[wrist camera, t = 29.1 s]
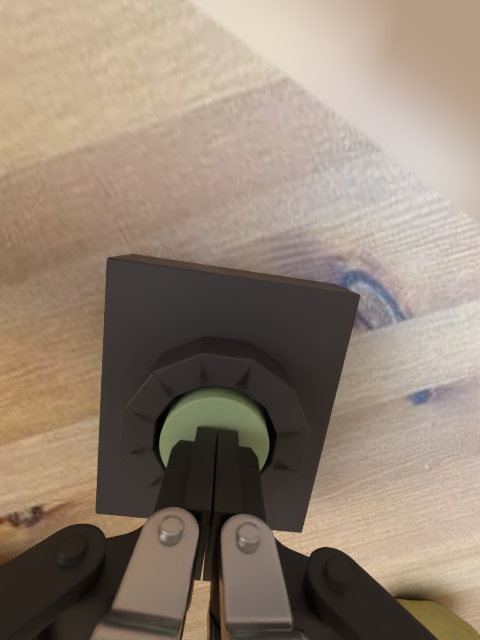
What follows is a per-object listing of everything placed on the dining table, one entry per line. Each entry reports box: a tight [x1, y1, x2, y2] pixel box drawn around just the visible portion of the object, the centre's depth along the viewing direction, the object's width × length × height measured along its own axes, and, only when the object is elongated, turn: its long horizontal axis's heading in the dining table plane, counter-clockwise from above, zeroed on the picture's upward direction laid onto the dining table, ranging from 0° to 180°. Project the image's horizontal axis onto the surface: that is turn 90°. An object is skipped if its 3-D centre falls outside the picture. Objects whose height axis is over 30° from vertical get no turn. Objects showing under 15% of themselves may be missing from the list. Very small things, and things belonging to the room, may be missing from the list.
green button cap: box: [159, 385, 269, 470], centre depth 12 cm, size 4×4×2 cm
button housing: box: [96, 254, 360, 533], centre depth 14 cm, size 12×10×5 cm
